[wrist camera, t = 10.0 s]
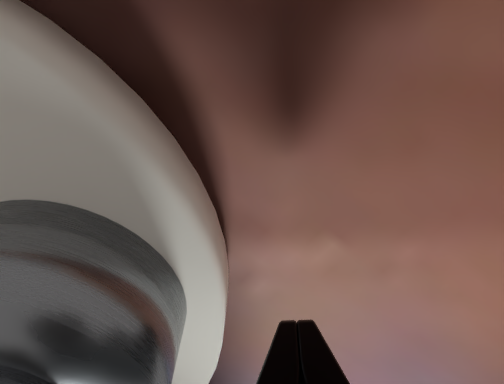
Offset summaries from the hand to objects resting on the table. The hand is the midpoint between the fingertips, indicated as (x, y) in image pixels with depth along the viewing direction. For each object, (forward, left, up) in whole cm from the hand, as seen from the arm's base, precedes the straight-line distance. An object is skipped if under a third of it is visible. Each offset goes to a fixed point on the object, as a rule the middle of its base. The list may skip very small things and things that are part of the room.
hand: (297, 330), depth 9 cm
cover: (0, +7, -1) cm, 7 cm away
